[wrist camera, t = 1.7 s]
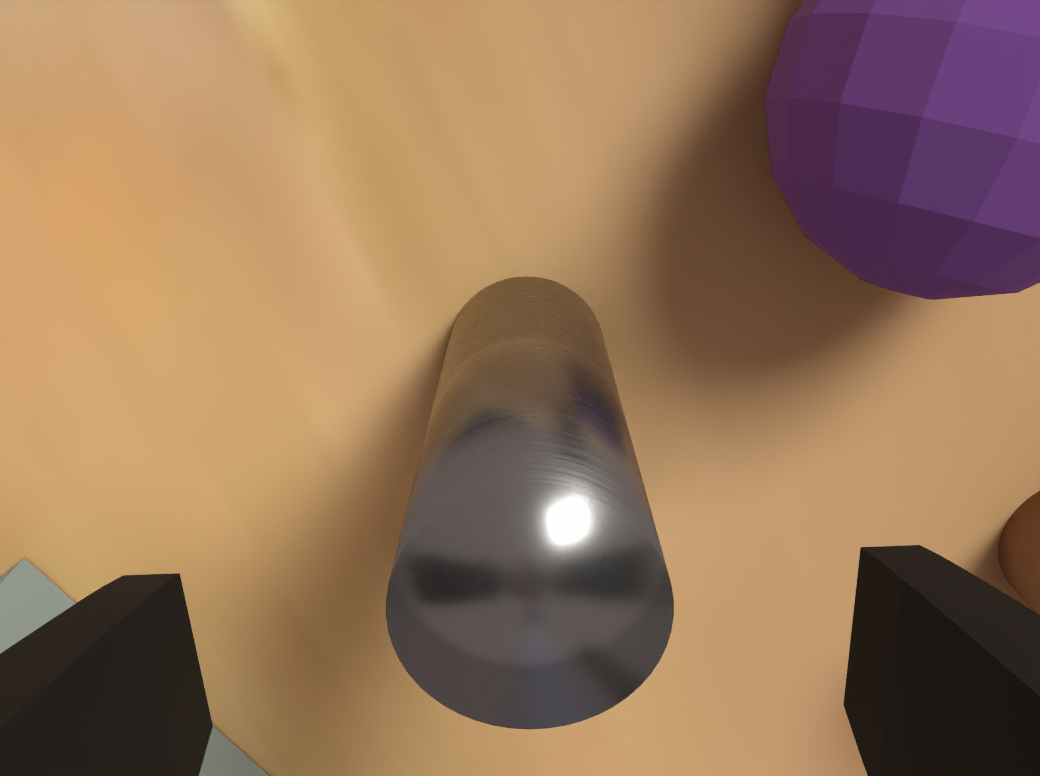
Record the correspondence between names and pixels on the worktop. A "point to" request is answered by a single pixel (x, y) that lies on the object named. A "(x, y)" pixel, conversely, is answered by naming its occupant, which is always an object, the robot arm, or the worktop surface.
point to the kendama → (913, 140)
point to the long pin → (528, 523)
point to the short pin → (1023, 551)
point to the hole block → (36, 600)
